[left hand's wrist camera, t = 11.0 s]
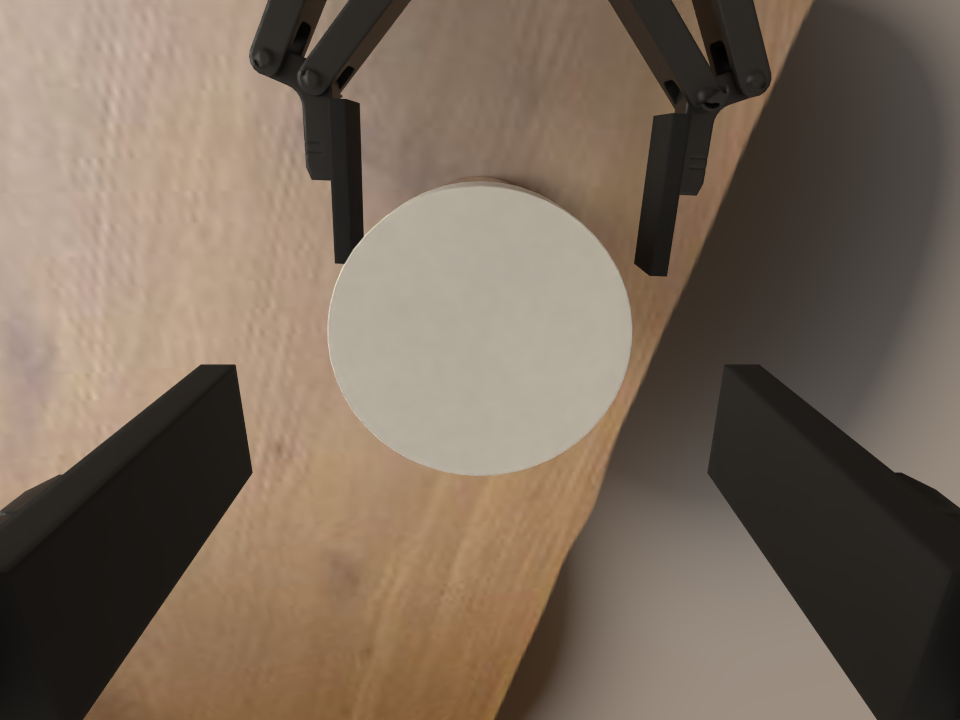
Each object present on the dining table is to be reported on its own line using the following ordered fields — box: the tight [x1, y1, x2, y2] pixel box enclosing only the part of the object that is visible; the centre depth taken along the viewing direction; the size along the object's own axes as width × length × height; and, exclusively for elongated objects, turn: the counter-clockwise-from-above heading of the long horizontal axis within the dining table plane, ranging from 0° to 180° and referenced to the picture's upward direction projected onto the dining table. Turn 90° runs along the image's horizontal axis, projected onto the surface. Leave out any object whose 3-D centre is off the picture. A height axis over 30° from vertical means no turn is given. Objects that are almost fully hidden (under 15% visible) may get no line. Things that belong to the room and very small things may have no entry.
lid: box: [328, 181, 633, 476], centre depth 19 cm, size 9×9×2 cm
